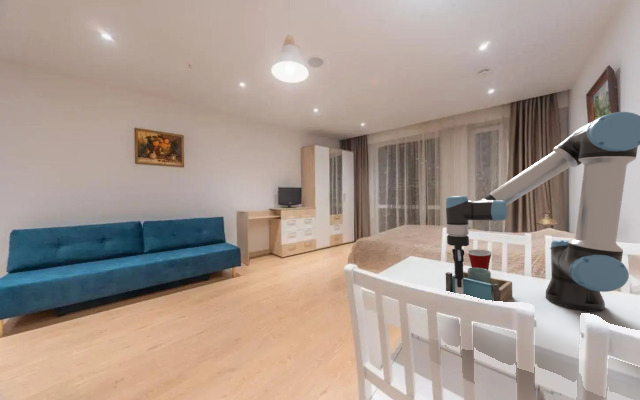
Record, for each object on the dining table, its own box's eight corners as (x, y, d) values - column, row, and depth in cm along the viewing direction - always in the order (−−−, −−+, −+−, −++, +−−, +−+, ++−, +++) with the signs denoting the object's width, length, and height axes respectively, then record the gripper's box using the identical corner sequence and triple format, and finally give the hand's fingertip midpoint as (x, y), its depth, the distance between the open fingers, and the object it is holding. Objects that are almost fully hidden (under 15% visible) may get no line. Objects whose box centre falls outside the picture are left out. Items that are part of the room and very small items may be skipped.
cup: (494, 298, 95) (494, 273, 95) (472, 297, 96) (472, 273, 96) (485, 291, 102) (485, 267, 102) (465, 290, 104) (464, 267, 104)
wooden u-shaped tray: (512, 296, 96) (512, 275, 96) (499, 308, 87) (498, 285, 87) (461, 283, 111) (461, 265, 111) (446, 292, 102) (445, 273, 102)
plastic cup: (462, 272, 127) (461, 249, 126) (479, 270, 129) (479, 248, 128) (479, 279, 116) (478, 254, 116) (498, 277, 118) (497, 252, 118)
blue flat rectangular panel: (492, 303, 90) (492, 284, 90) (490, 304, 90) (490, 285, 89) (454, 292, 101) (454, 275, 101) (453, 293, 100) (452, 276, 100)
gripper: (470, 237, 88) (472, 302, 88) (467, 233, 100) (468, 290, 100) (447, 237, 92) (449, 299, 92) (446, 232, 103) (448, 287, 103)
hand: (459, 294), depth 96 cm, fingers closed
